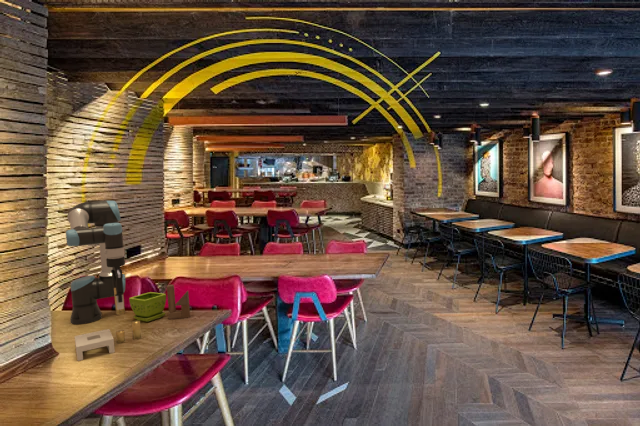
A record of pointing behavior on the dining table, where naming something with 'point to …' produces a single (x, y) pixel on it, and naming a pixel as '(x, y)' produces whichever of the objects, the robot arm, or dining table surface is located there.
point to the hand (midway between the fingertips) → (119, 307)
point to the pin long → (120, 311)
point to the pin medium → (136, 329)
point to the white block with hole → (94, 342)
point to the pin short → (120, 336)
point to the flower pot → (145, 311)
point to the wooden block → (177, 304)
